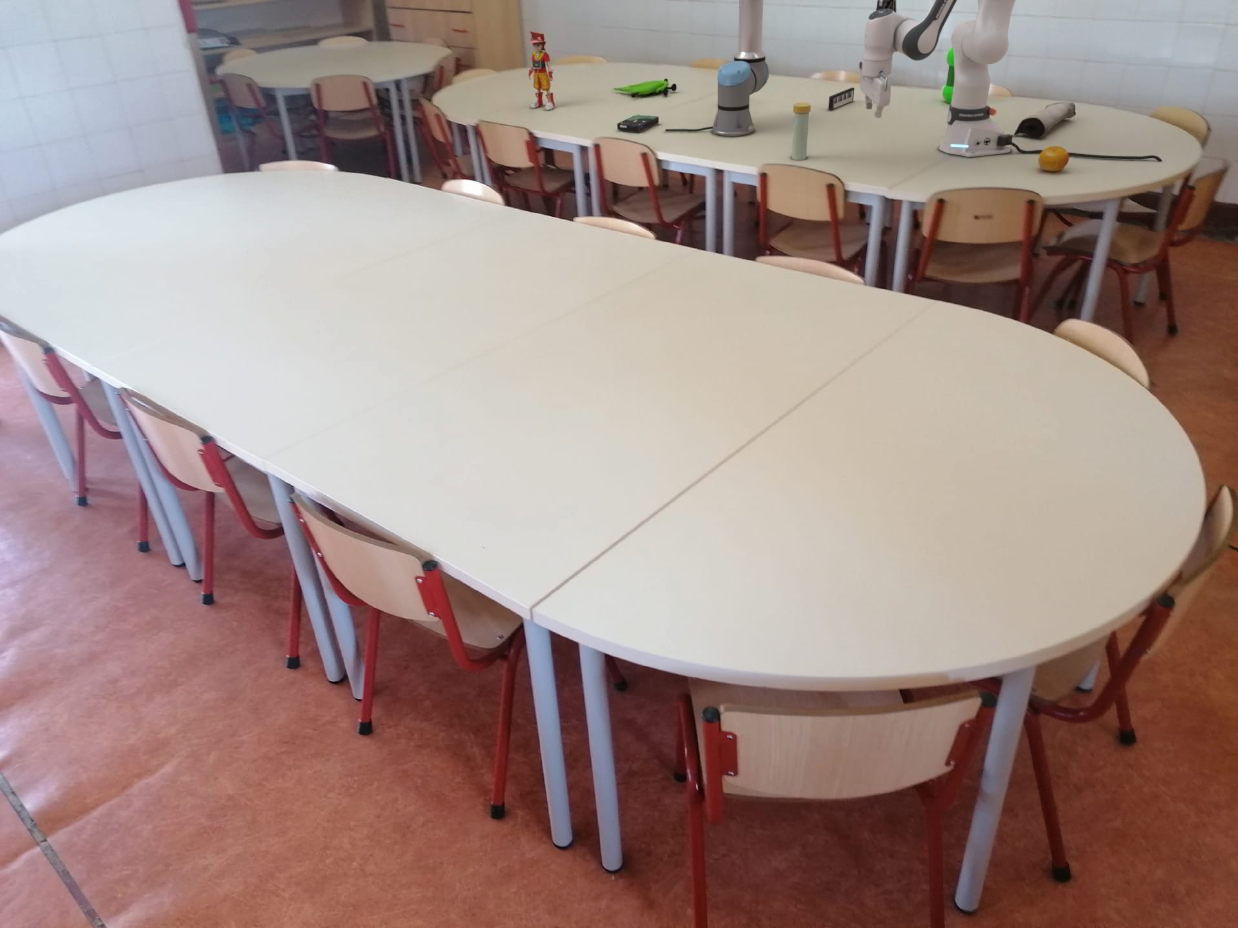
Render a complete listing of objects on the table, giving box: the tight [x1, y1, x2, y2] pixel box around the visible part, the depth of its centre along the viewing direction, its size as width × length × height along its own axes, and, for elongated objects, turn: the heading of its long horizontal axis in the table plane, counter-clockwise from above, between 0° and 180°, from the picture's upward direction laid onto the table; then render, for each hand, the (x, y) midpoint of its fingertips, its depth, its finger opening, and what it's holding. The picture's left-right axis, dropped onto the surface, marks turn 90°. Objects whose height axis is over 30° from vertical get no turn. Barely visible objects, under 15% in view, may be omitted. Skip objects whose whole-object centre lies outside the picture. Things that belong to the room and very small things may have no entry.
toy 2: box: [612, 78, 677, 99], centre depth 396 cm, size 28×5×30 cm
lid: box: [792, 102, 812, 113], centre depth 296 cm, size 6×6×2 cm
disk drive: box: [616, 114, 660, 133], centre depth 347 cm, size 10×3×15 cm
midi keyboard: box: [827, 87, 855, 111], centre depth 358 cm, size 18×1×5 cm, turn 138°
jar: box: [791, 111, 810, 161], centre depth 300 cm, size 5×5×17 cm
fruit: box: [1037, 145, 1070, 172], centre depth 278 cm, size 8×8×8 cm
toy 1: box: [527, 31, 556, 111], centre depth 374 cm, size 12×9×30 cm
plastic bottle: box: [942, 46, 954, 104], centre depth 348 cm, size 10×10×25 cm
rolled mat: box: [1013, 101, 1077, 140], centre depth 317 cm, size 30×9×10 cm
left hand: (881, 50), depth 308 cm, fingers open, 13 cm apart
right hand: (873, 113), depth 288 cm, fingers open, 8 cm apart
